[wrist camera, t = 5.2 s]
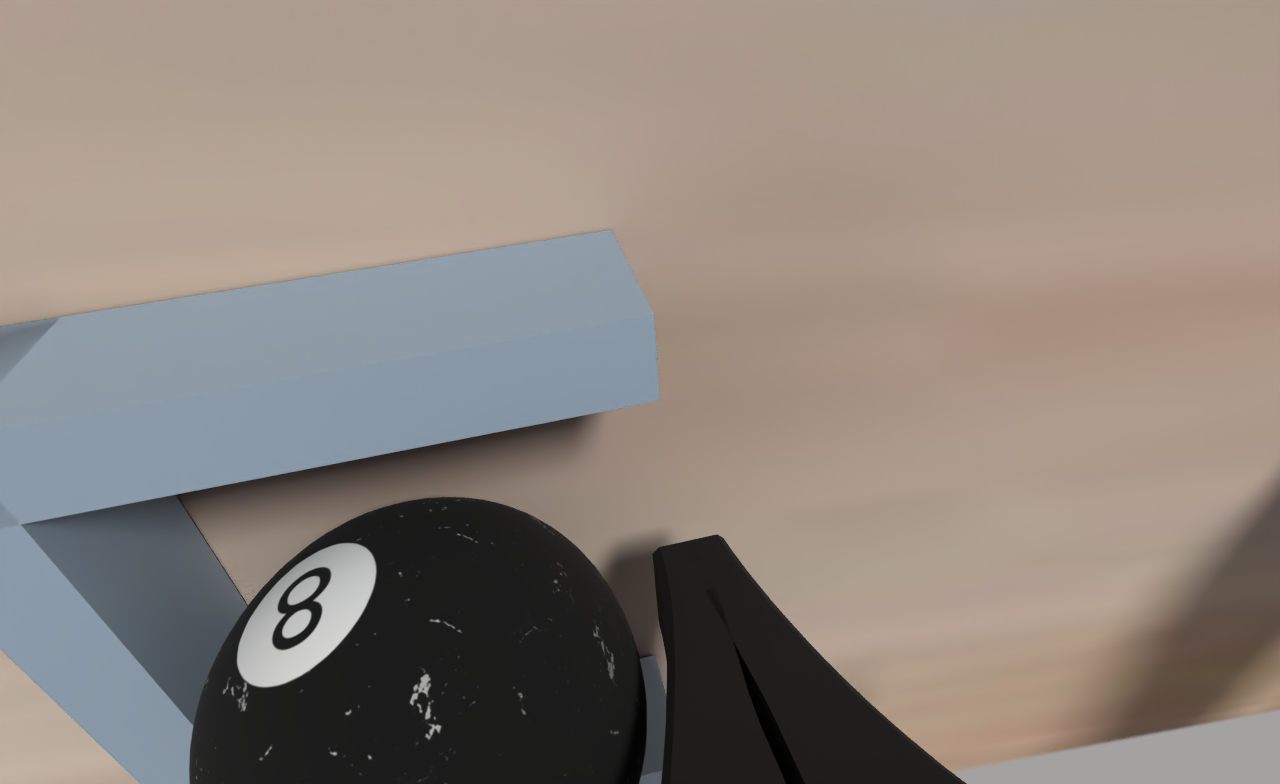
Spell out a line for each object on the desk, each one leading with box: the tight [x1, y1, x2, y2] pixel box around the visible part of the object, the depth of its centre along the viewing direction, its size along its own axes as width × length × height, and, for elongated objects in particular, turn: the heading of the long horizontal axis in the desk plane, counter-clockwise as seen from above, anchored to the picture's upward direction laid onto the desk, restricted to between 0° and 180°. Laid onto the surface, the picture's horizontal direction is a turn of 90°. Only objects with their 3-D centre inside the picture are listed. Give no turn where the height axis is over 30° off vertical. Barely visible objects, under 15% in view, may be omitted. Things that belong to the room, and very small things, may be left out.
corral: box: [0, 230, 666, 784], centre depth 12 cm, size 8×11×2 cm
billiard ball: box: [189, 497, 647, 784], centre depth 10 cm, size 6×6×6 cm
